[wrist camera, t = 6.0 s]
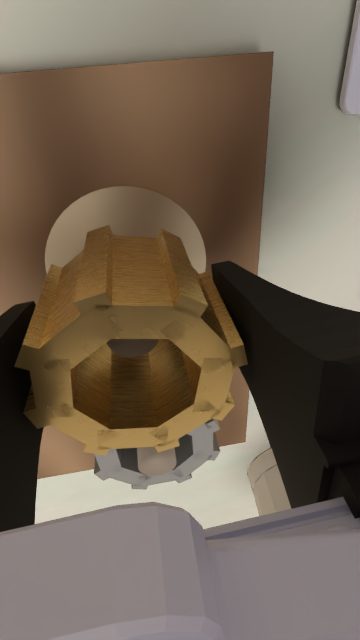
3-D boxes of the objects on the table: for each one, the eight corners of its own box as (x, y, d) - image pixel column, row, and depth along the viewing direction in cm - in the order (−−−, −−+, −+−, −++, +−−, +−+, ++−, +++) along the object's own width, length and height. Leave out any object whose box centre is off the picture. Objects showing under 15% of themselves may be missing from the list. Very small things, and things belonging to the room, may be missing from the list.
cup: (342, 469, 29) (457, 668, 19) (254, 503, 30) (321, 707, 20) (325, 418, 24) (465, 647, 14) (222, 460, 25) (289, 699, 15)
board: (260, 54, 11) (360, 34, 7) (240, 426, 23) (271, 515, 18) (-260, 96, 10) (-587, 109, 5) (-3, 468, 22) (-36, 575, 17)
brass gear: (223, 232, 11) (268, 296, 8) (196, 363, 14) (221, 448, 11) (37, 219, 10) (-2, 288, 7) (53, 365, 13) (32, 460, 10)
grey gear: (199, 334, 16) (220, 396, 13) (203, 410, 20) (220, 475, 16) (82, 352, 16) (73, 421, 13) (105, 427, 19) (103, 497, 16)
